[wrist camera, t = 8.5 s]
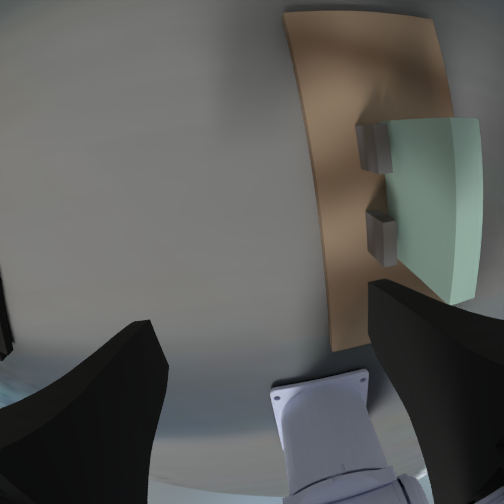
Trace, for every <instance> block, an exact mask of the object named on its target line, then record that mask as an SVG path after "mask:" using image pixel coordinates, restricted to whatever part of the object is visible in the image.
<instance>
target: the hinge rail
mask: <svg viewBox="0 0 504 504" xmlns="http://www.w3.org/2000/svg"><path fill="white" fill-rule="evenodd" d="M282 20H283V24H284V28H285V32H286V37H287V41H288V45H289V50H290V54H291V58H292V63H293V68H294V72H295V77H296V82H297V87H298V92H299V97H300V102H301V107H302V113H303V118H304V124H305V129H306V135H307V141H308V147H309V153H310V160H311V166H312V173H313V179H314V186H315V194H316V201H317V209H318V216H319V225H320V233H321V242H322V251H323V261H324V271H325V282H326V293H327V306H328V320H329V335H330V347H331V349H332V352H336V351H340V350H345V349H349V348H353V347H357V346H361V345H365V344H369V343H371V340H370V338H369V335H368V282H371V281H375V280H380V279H384V278H385V279H388V280H391V281H394V282H396V283H399V284H401V285H404V286H406V287H408V288H410V289H413V290H415V291H417V292H420V293H422V294H424V295H426V296H429V297H431V298H434V299H436V300H438V301H441V302H443V303H445V302H444V301H443V300H442V299H441V298H440V297H439V296H438V295H437V294H436V293H435V292H434V291H433V290H432V289H430V288H429V287H428V286H427V285H426V284H425V283H424V282H423V281H422V280H421V279H420V278H418V277H417V276H416V275H415V274H414V273H413V272H412V271H411V270H410V269H408V268H407V267H406V266H405V265H404V264H403V263H402V262H401V261H399V260H398V259H397V226H396V220H394V219H393V218H391V217H389V216H388V204H387V190H386V179H385V174H387V173H393V166H392V157H391V148H390V140H389V132H388V125H387V123H383V124H379V122H380V121H392V120H405V119H422V118H454V116H453V109H452V103H451V97H450V91H449V86H448V80H447V75H446V71H445V66H444V62H443V57H442V53H441V49H440V45H439V42H438V38H437V34H436V31H435V28H434V24H433V21H432V19H427V18H421V17H415V16H408V15H400V14H391V13H380V12H365V11H301V12H286V13H283V16H282Z"/></svg>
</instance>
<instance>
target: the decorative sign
mask: <svg viewBox="0 0 504 504" xmlns="http://www.w3.org/2000/svg"><path fill="white" fill-rule="evenodd" d="M12 351H13V346H12V341H11V337H10V332H9V328H8V323H7V318H6V312H5V306H4V300H3V293H2V286H1V278H0V361H3V360H4V359H5V358H6V357H7V355H9V354H10V353H11V352H12Z"/></svg>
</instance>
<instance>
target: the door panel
mask: <svg viewBox="0 0 504 504" xmlns="http://www.w3.org/2000/svg"><path fill="white" fill-rule="evenodd" d="M383 123H387V125H388V132H389V140H390V148H391V157H392V166H393V173H387V174H385V179H386V190H387V204H388V216H389V217H391V218H393V219H394V220H396V226H397V259H398V260H399V261H401V262H402V263H403V264H404V265H405V266H406V267H407V268H408V269H410V270H411V271H412V272H413V273H414V274H415V275H416V276H417V277H418V278H420V279H421V280H422V281H423V282H424V283H425V284H426V285H427V286H428V287H429V288H430V289H432V290H433V291H434V292H435V293H436V294H437V295H438V296H439V297H440V298H441V299H442V300H443V301H444V302H445V303H446V304H449V305H454V304H457V303H460V302H463V301H466V300H469V299H472V298H474V296H475V290H476V283H477V276H478V268H479V259H480V249H481V237H482V219H483V168H482V150H481V138H480V128H479V119H478V118H422V119H405V120H392V121H380V122H379V124H383Z"/></svg>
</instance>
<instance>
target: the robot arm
mask: <svg viewBox="0 0 504 504" xmlns="http://www.w3.org/2000/svg"><path fill="white" fill-rule="evenodd" d="M368 335H369V338H370V340H371V343H372V346H373V348H374V351H375V353H376V355H377V358H378V359H379V361H380V363H381V365H382V367H383V368H384V370H385V372H386V374H387V375H388V377H389V379H390V381H391V382H392V384H393V386H394V388H395V390H396V391H397V393H398V395H399V397H400V399H401V400H402V402H403V404H404V406H405V408H406V410H407V412H408V414H409V417H410V420H411V422H412V425H413V428H414V430H415V433H416V436H417V438H418V442H419V445H420V448H421V451H422V454H423V457H424V460H425V464H426V468H427V472H428V476H429V480H430V484H431V488H432V493H433V498H434V504H504V320H500V319H496V318H491V317H487V316H483V315H480V314H476V313H472V312H469V311H466V310H463V309H460V308H457V307H454V306H452V305H449V304H446V303H443V302H441V301H438V300H436V299H434V298H431V297H429V296H426V295H424V294H422V293H420V292H417V291H415V290H413V289H410V288H408V287H406V286H404V285H401V284H399V283H396V282H394V281H391V280H388V279H385V278H384V279H380V280H375V281H371V282H368ZM168 371H169V365H168V363H167V360H166V358H165V356H164V353H163V351H162V348H161V346H160V344H159V341H158V339H157V336H156V334H155V331H154V329H153V326H152V324H151V321H150V320H143V321H134V322H133V323H131V324H129V325H128V326H126V327H125V328H124V329H122V330H121V331H120V332H119V333H117V334H116V335H115V336H114V337H113V338H111V339H110V340H109V341H108V342H106V343H105V344H104V345H103V346H102V347H100V348H99V349H98V350H97V351H96V352H94V353H93V354H92V355H91V356H89V357H88V358H87V359H85V360H84V361H83V362H82V363H80V364H79V365H78V366H76V367H75V368H74V369H72V370H71V371H70V372H68V373H67V374H65V375H64V376H63V377H61V378H60V379H58V380H56V381H55V382H53V383H52V384H50V385H49V386H47V387H45V388H43V389H42V390H40V391H38V392H36V393H34V394H32V395H30V396H28V397H26V398H24V399H22V400H20V401H18V402H16V403H13V404H11V405H9V406H6V407H3V408H1V409H0V504H147V496H148V493H147V492H148V476H149V466H150V457H151V450H152V445H153V440H154V437H155V433H156V429H157V425H158V421H159V417H160V413H161V410H162V406H163V402H164V398H165V394H166V389H167V381H168ZM362 378H363V379H362ZM368 380H369V372H368V370H367V369H360V370H356V371H352V372H348V373H344V374H340V375H335V376H331V377H326V378H322V379H317V380H312V381H307V382H302V383H296V384H291V385H285V386H279V387H274V388H272V389H271V390H270V397H271V401H272V405H273V410H274V414H275V419H276V423H277V427H278V432H279V436H280V440H281V444H282V449H283V450H284V453H285V462H286V470H287V479H288V488H289V497H285V498H283V504H429V503H428V501H427V498H426V495H425V493H424V491H423V489H422V487H421V485H420V483H419V482H418V480H417V479H416V478H414V477H412V476H409V475H407V474H402V475H399V476H397V477H396V474H395V472H394V469H393V466H389V467H388V464H387V462H386V459H385V456H384V454H383V451H382V448H381V445H380V443H379V440H378V438H377V435H376V432H375V430H374V427H373V424H372V422H371V419H370V417H369V414H368V412H367V409H366V403H367V392H368ZM276 396H279V397H276Z"/></svg>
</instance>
